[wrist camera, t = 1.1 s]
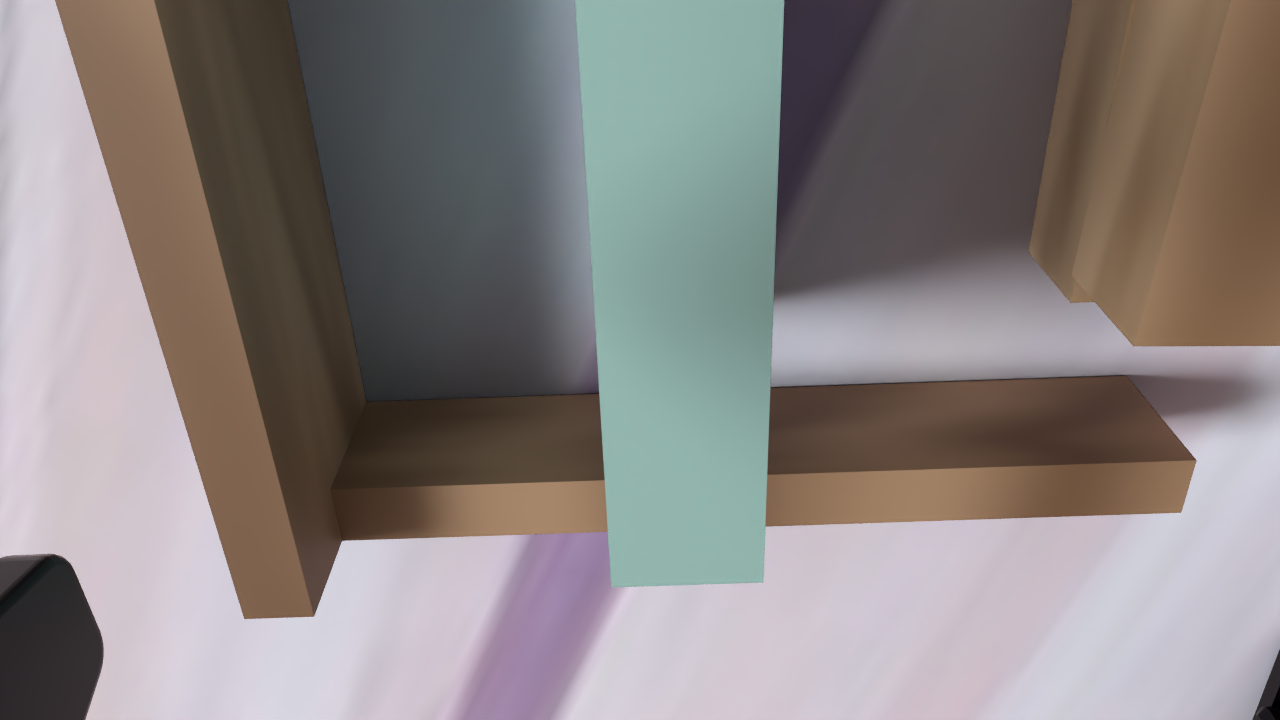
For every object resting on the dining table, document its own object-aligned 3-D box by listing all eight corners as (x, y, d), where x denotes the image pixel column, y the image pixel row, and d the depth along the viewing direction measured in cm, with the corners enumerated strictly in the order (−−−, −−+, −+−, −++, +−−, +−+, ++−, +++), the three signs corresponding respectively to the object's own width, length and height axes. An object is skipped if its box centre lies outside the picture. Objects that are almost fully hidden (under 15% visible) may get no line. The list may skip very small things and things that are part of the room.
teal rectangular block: (719, -210, 16) (790, -196, 9) (716, 306, 20) (763, 582, 13) (591, -206, 16) (563, -188, 9) (616, 310, 20) (611, 587, 13)
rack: (1333, -489, 14) (1643, -602, 10) (1115, 423, 22) (1236, 585, 17) (113, -441, 14) (-109, -532, 10) (319, 451, 22) (244, 618, 18)
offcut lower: (1337, -161, 17) (1444, -149, 14) (1226, 238, 20) (1299, 295, 18) (1091, -152, 17) (1160, -140, 14) (1022, 245, 20) (1070, 303, 18)
